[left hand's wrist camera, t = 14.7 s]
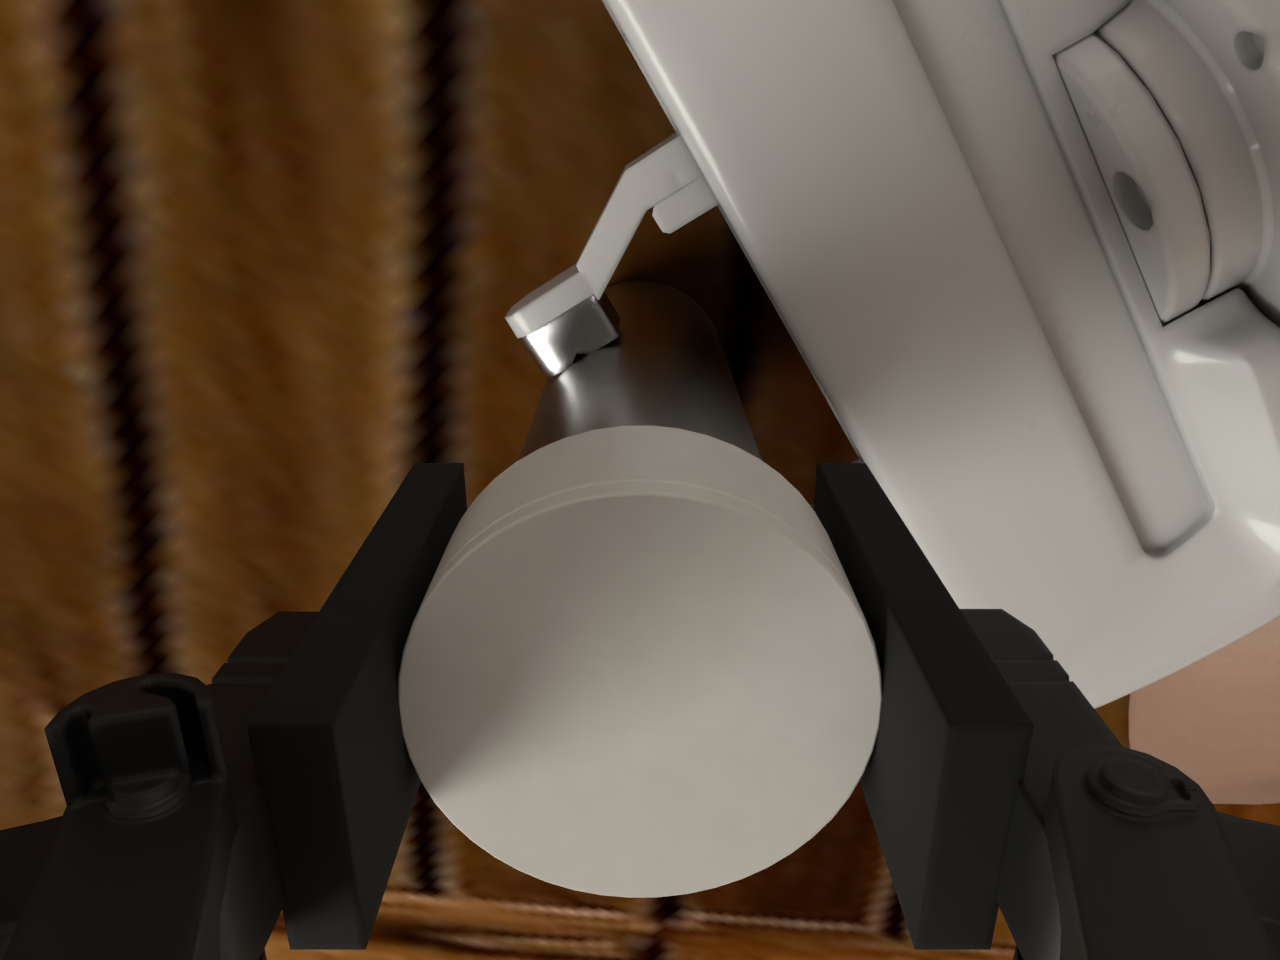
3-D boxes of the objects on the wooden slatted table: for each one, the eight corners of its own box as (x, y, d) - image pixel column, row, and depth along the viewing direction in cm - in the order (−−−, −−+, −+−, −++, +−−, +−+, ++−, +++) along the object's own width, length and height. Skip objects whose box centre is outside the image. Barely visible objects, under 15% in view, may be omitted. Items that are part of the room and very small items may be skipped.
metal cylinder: (754, 341, 25) (905, 643, 11) (660, 467, 26) (683, 883, 12) (618, 246, 24) (585, 438, 10) (527, 382, 25) (384, 725, 11)
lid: (775, 363, 11) (807, 421, 9) (886, 716, 13) (932, 831, 11) (368, 503, 12) (310, 586, 10) (530, 819, 14) (510, 944, 12)
